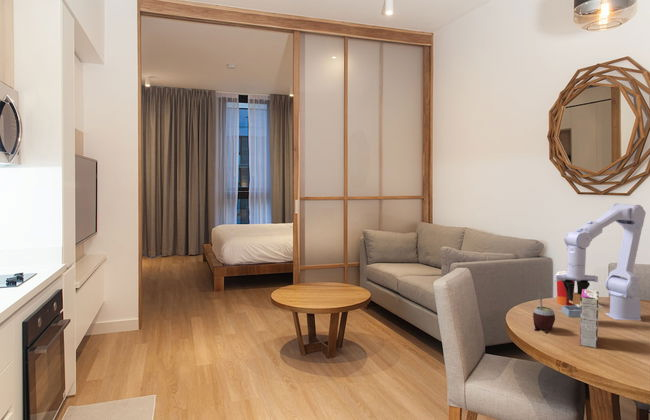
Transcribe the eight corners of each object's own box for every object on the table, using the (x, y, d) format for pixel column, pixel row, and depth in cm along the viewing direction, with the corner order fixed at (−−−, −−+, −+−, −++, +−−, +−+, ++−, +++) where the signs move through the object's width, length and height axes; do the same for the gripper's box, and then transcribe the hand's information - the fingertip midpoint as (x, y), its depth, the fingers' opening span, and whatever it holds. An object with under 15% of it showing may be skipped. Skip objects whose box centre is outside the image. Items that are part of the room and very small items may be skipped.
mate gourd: (549, 327, 160) (550, 287, 159) (559, 335, 152) (560, 292, 151) (528, 327, 160) (529, 286, 159) (537, 334, 152) (538, 292, 151)
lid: (594, 304, 166) (595, 292, 165) (603, 310, 159) (604, 297, 158) (566, 303, 167) (567, 290, 166) (574, 308, 160) (575, 295, 159)
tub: (582, 313, 175) (582, 306, 175) (590, 318, 169) (590, 311, 169) (561, 312, 176) (561, 305, 176) (568, 318, 170) (568, 310, 170)
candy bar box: (580, 335, 152) (582, 288, 151) (597, 337, 149) (599, 290, 148) (579, 345, 143) (580, 296, 141) (597, 348, 140) (599, 298, 139)
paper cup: (573, 303, 190) (574, 271, 189) (577, 308, 182) (578, 275, 181) (553, 301, 192) (554, 270, 191) (556, 306, 185) (557, 273, 184)
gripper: (591, 262, 165) (590, 297, 166) (551, 261, 166) (550, 296, 168) (601, 266, 158) (599, 303, 159) (559, 265, 159) (557, 302, 161)
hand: (575, 300), depth 163 cm, fingers closed on lid, 3 cm apart
